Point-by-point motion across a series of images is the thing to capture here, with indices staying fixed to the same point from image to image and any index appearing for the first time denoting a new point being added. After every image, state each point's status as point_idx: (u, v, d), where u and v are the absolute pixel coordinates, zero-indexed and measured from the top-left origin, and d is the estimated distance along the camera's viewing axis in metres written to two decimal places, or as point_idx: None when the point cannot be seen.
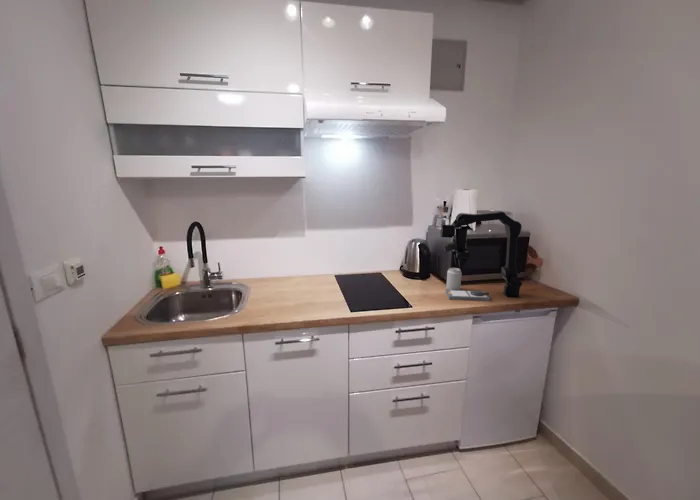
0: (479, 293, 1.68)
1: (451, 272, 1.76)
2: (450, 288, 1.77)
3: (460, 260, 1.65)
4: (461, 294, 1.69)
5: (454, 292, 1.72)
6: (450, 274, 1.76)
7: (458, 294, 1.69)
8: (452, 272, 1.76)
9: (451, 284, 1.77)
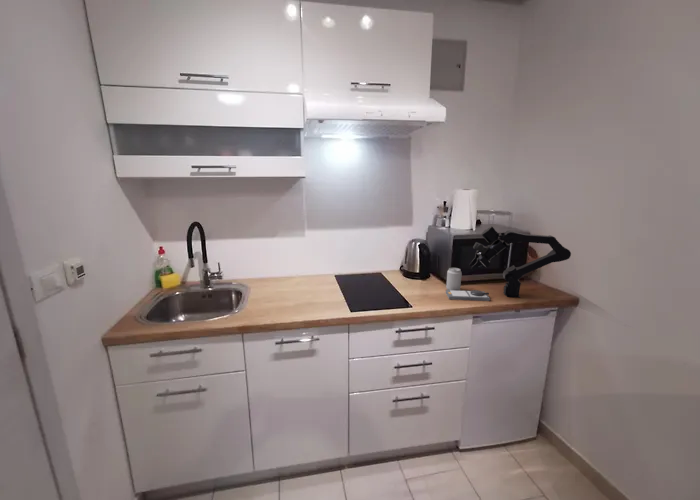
0: (479, 293, 1.68)
1: (451, 272, 1.76)
2: (450, 288, 1.77)
3: (477, 263, 1.68)
4: (461, 294, 1.69)
5: (454, 292, 1.72)
6: (450, 274, 1.76)
7: (458, 294, 1.69)
8: (452, 272, 1.76)
9: (451, 284, 1.77)
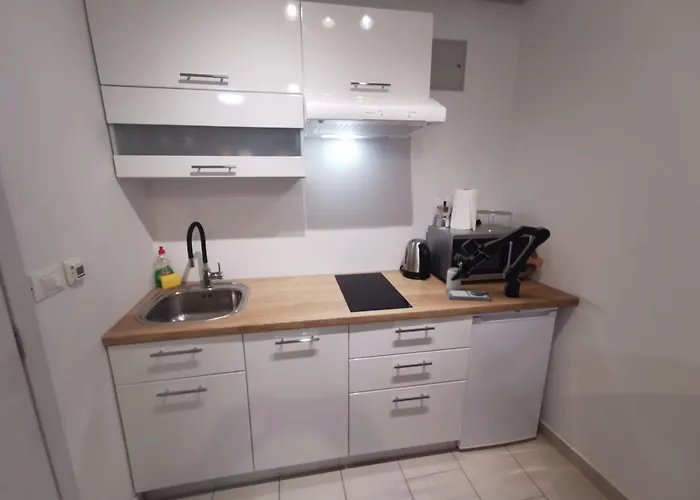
0: (479, 293, 1.68)
1: (451, 272, 1.76)
2: (450, 288, 1.77)
3: (457, 274, 1.73)
4: (461, 294, 1.69)
5: (454, 292, 1.72)
6: (450, 274, 1.76)
7: (458, 294, 1.69)
8: (452, 272, 1.76)
9: (451, 284, 1.77)
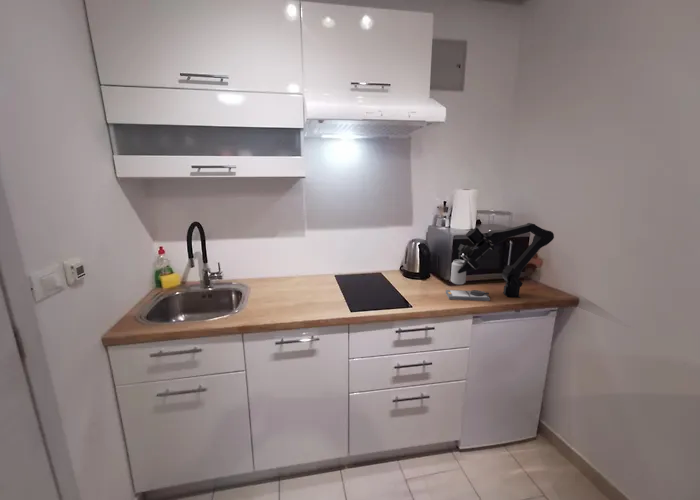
0: (479, 293, 1.68)
1: (457, 264, 1.67)
2: (456, 281, 1.69)
3: (465, 265, 1.64)
4: (461, 294, 1.69)
5: (454, 292, 1.72)
6: (456, 266, 1.67)
7: (458, 294, 1.69)
8: (458, 264, 1.67)
9: (458, 276, 1.68)
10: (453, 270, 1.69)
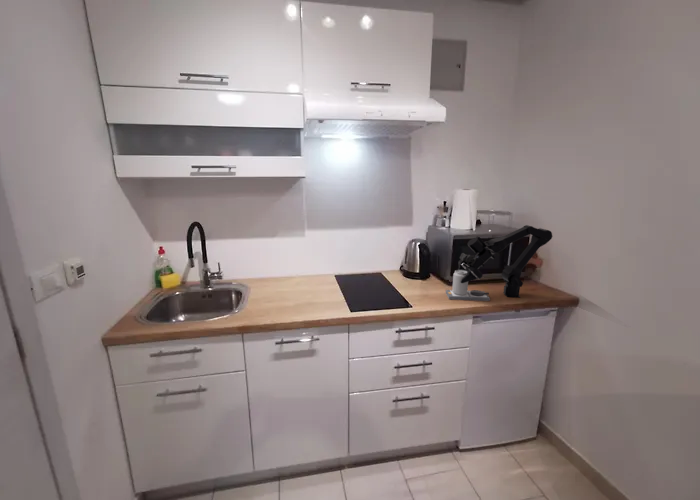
0: (479, 293, 1.68)
1: (460, 275, 1.65)
2: (459, 292, 1.67)
3: (468, 275, 1.62)
4: None
5: None
6: (459, 277, 1.65)
7: None
8: (461, 275, 1.65)
9: (460, 287, 1.66)
10: (455, 281, 1.67)
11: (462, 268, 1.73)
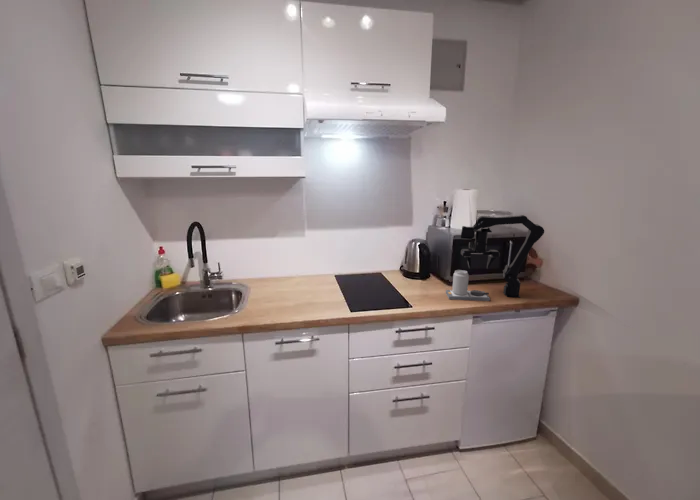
0: (479, 293, 1.68)
1: (460, 275, 1.65)
2: (459, 292, 1.67)
3: (467, 258, 1.75)
4: None
5: None
6: (459, 277, 1.65)
7: None
8: (461, 275, 1.65)
9: (460, 287, 1.66)
10: (455, 281, 1.67)
11: (489, 257, 1.73)
